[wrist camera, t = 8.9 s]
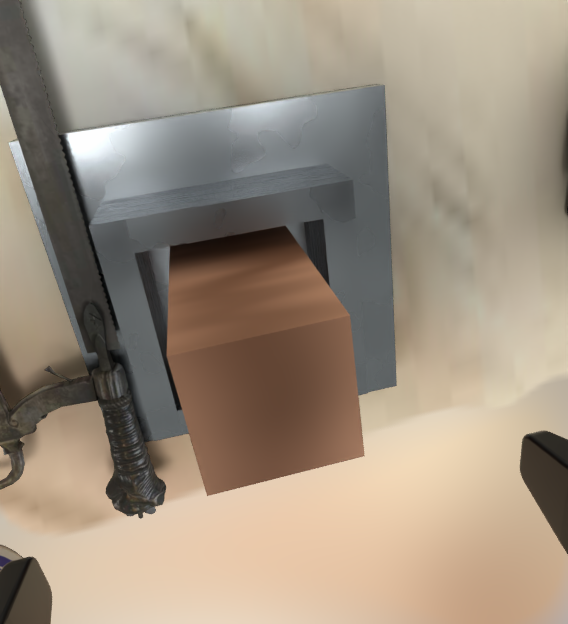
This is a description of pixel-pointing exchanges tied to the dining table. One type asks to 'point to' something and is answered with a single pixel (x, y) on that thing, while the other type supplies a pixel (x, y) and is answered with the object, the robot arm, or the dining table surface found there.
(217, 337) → the pin
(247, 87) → the dining table surface
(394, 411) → the dining table surface
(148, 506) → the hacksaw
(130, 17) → the dining table surface
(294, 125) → the socket block
